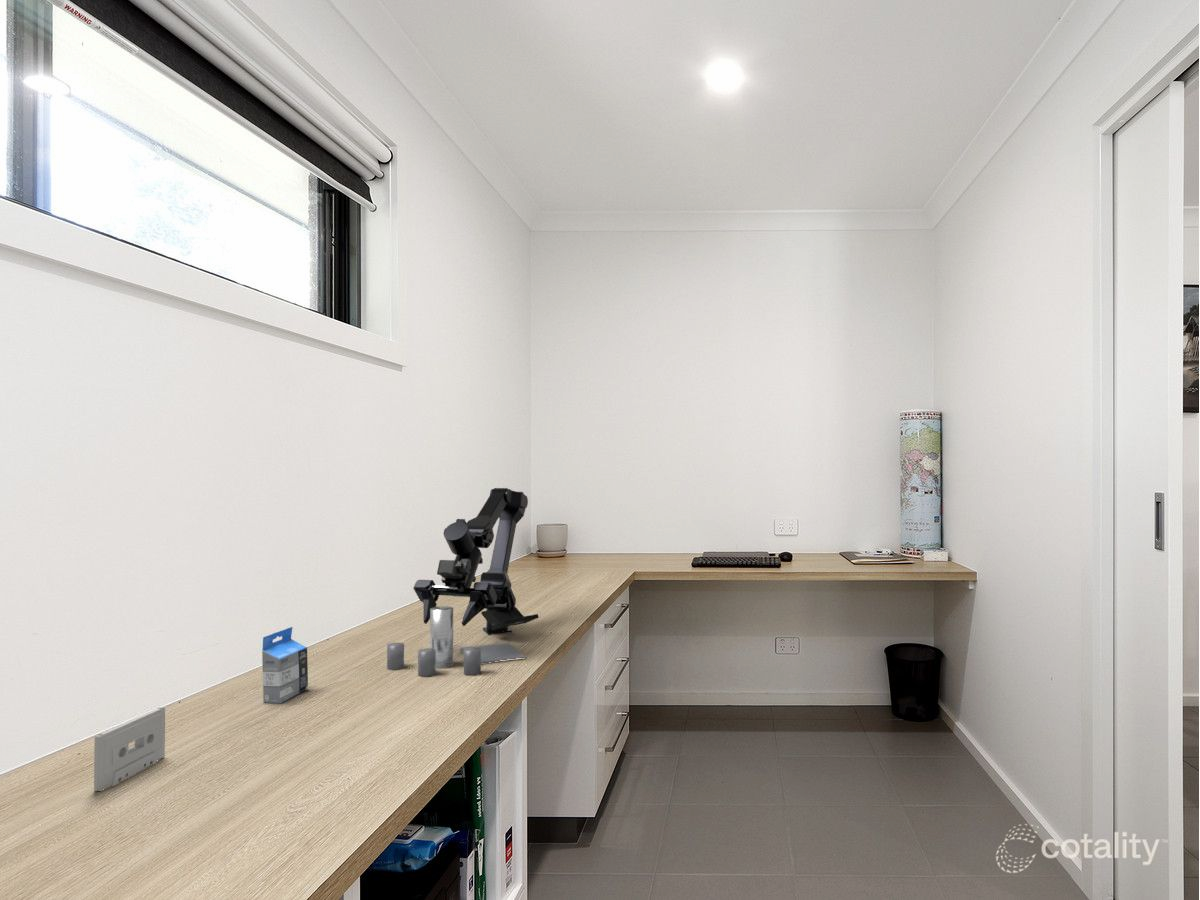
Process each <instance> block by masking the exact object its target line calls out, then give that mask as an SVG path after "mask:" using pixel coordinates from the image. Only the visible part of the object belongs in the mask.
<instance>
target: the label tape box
mask: <svg viewBox="0 0 1200 900" xmlns="http://www.w3.org/2000/svg"><path fill="white" fill-rule="evenodd" d="M292 634H293V626H290V627H287V628H285V629H283V630H279V631H276V632H274V633H271V634H268V635H265V636H263V637H262V650H261V651H262V652H261V653H262V657H261V659H262V663H261V664H262V666H261V667H262V691H263V692H262V695H263V697H262V699H263V700H262V701H263V702H262V703H264V702H266V703H267V704H282V703H283V702H287V701H289V699H291V698H294V697H295V696H297V695H299V694H301V693H302V692H305V691H306V690H308V689H309V675H308V674H309V673H308V671H309V670H308V667H309V666H308V665H309V663H308V647H306V646H305V645H303V644H301V643H299V642H297V641H296V640H294V639H292V636H293V635H292ZM277 638H281V639H279V640H276V641H274V640H275V639H277ZM273 641H274V642H273ZM304 690H305V691H304ZM268 702H270V703H268Z"/></svg>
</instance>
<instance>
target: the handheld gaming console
mask: <svg viewBox="0 0 1200 900" xmlns="http://www.w3.org/2000/svg"><path fill="white" fill-rule="evenodd" d="M494 610H500V609H494ZM494 610H488V611H486V610H482V611H481V612H480V614H481V615H482V616H483V618H484V619H485V620H487V621H488V623H489V624H490V625H491V626H492V629H493V630H495V629H500V628H505V627H508V628H509V627H513V626H518V625H524V624H527V623H529V622H532V621H534V620H536V619H539V618H540V617H539V614H538V613H536V614H530V615H525V616H524V615H523V614H522V613H521V611H520V610H519V609H518V608H517V607H516V606H515V609H510V610H506V612H498V611H494Z"/></svg>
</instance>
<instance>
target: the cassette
mask: <svg viewBox="0 0 1200 900" xmlns="http://www.w3.org/2000/svg"><path fill="white" fill-rule="evenodd" d="M133 742H134V746H132V747H129V744H131V743H133ZM93 747H94V757H93V760H94V769H93V772H94V773H93V777H94V778H93V791H94V792H95V791H101V792H103V791H104V790H103V789H105V788H107V789H109V788H111V787H110V786H113V787H115V786H116V784H117V783H119V782H121V781H122V782H124V781H126V780H127V779H126V778H128V779H130V778H131V777H130V776H132V777H133V776H135V775H137V774H138V773H137V772H139V773H140V771H141V770H143V769H145V768H146V769H148V768H150V767H152V766H153V765H152V764H154V763H156V762H157V763H158V761H157V760H159V759H161V758H163V757H164V758H165V756H166V754H165V753H166V708H165V707H156V708H155V709H152V710H149V711H148V712H146V713H143V714H141V715H139V716H137V717H135V718H134V717H133V718H132V719H130V720H128V721H125V722H123V723H120V724H119V725H117V726H114V727H112V728H110V729H108V730H105V731H103V732H100V733H98V734H96V735H95V736H94V746H93ZM164 758H163V759H164ZM161 760H162V759H161ZM159 761H160V760H159ZM157 763H156V764H157ZM151 765H152V766H151ZM154 765H155V764H154ZM149 766H150V767H149ZM147 767H148V768H147ZM146 769H145V770H146ZM143 771H144V770H143ZM141 772H142V771H141ZM136 773H137V774H136ZM134 774H135V775H134ZM129 777H130V778H129ZM125 779H126V780H125ZM123 780H124V781H123ZM122 782H121V783H122ZM119 784H120V783H119ZM114 785H115V786H114ZM117 785H118V784H117ZM108 787H109V788H108ZM102 790H103V791H102ZM105 790H106V789H105Z"/></svg>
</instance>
